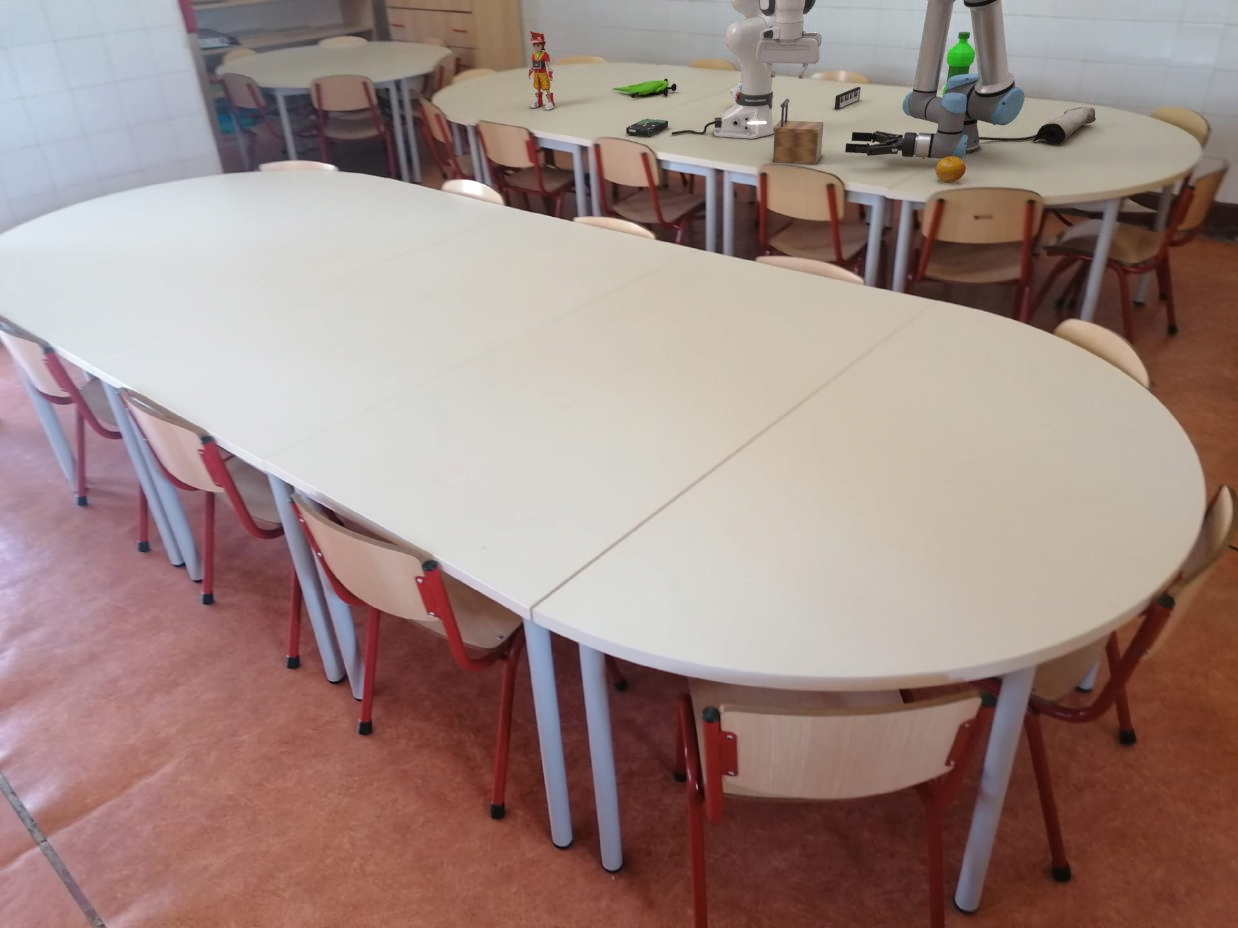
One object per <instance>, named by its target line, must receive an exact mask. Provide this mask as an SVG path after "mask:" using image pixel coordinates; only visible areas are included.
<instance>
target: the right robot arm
mask: <svg viewBox="0 0 1238 928" xmlns="http://www.w3.org/2000/svg"><path fill="white" fill-rule="evenodd" d="M956 1H957V0H927V4H926V5H927V6H926V12H925V18H924V24H923V28H922V35H921V41H920V48H919V53H918V59H917V63H916V71H915V74H914V75H915V76H914V81H913V88H912V91H910V92H908V93H907V94H906V96H905V98H904V100H903V101H902V111H903V113H904V114H905V115H906V116H909V117H911V118H914V119H917V120H922V121H927V122H930V123H934V124H937V129H936V132H935V133H933V132H919V133H917V132H911V131H905V132H904V135H903V134H898V133H897V134H896V133H892V132H891V133H890V132H886V131H880V130H876V131H874V132H864V131H863V132H862V131H852V132H851V142H864V143H851V142H849V143H848V142H846V143H845V150H844V153H849V154H865V155H866V156H867V157H873V156H884V155H898V154H899V151H900V152H901V157H902V158H913V157H915V158H921V160H925V159H927V158H928V159H940V160H941V159H943V158H945V157H949V156H955V157H958V158H960V159H962V160H963V158H965V156H966V153H972V152H976V151H977V150H978V149H979V148H980V141H999V142H1000V141H1003V142H1017V141H1018V142H1020V141H1028V140H1033V139H1034V138H1035V136H1036V134H1034V135H1030V136H1024V137H993V136H992V137H990V136H980V135H979V128H978V121H980V122H983V123H987V124H991V125H992V126H993V125H994V126H996V125H997V126H1007V125H1009V124H1010V123H1012V122H1013V121H1014V120H1016V118H1017V117H1018V116H1019V114H1020V112H1021V111H1022V109H1023V106H1024V103H1025V96H1026V95H1025V91H1024V90H1023V89H1022V88H1021V87H1019V86H1016V84H1015V83H1016V82H1015V81H1016V80H1015V75H1014V74H1013V73H1012V72H1010V71H1009V67H1008V66H1009V65H1008V55H1007V46H1006V36H1005V35H1006V34H1005V26H1004V25H1005V24H1004V23H1005V22H1004V14H1003V4H1002V3H1003V2H1002V0H962V1H963V6H964V7H966V8H967V9H969V10H970V18H971V29H972V34H973V35H972V36H973V44H974V50H975V59H976V67H977V68H976V69H977V73H969V74H963V75H956V76H953V77H951V78H949V79H948V81H947V80H946V84H947V85H946V84H945V85H946V89H945V94H944V95H943V94H942V96H937V95H938V89H939V84H940V77H941V72H942V68H943V61H944V58H945V53H946V47H947V43H948V42H947V41H948V36H949V30H950V25H951V21H952V19H951V18H952V16H953V9H954V5H955V2H956ZM865 142H867V143H865ZM870 143H871V144H870Z"/></svg>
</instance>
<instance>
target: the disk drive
mask: <svg viewBox="0 0 1238 928" xmlns="http://www.w3.org/2000/svg"><path fill="white" fill-rule="evenodd" d="M667 128H669V120H664V119H652V118H644V119H641V120H640V121H637V122H635V123H633V124H631V125H628V126H626V128H625V132H626V133H625V134H626V135H629V136H630V135H631V136H638V137H652V136H653V135H655V134H657V133H659V132H662V131H664V130H666V129H667Z"/></svg>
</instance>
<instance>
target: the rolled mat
mask: <svg viewBox="0 0 1238 928" xmlns="http://www.w3.org/2000/svg"><path fill="white" fill-rule="evenodd" d="M1096 119H1097V118H1096V109H1095V108H1094V107H1087V106H1083V107H1074V108H1069V109H1066V110H1064V112H1063V114H1061V115H1059V116H1057V117H1055V118H1054V119H1052V120H1050V121H1048V122H1046V123H1045V124H1043V125H1042V126H1040V128H1039V129H1038V131H1037V132H1036V134H1035V135H1036V136H1035V138H1033V139H1032V142H1033V143H1035V142H1037V141H1042V140H1043V141H1044V142H1046V143H1047V144H1051V145H1057V146H1059V145H1061V144H1063V143H1064V142H1065V141H1066V140H1067V139H1068V138H1069V137H1070V136H1071V135H1072V134H1073V133H1074V132H1076V131H1077V130H1078V129H1079V128H1081V126H1083V125H1088V124H1093V123H1095V121H1096Z"/></svg>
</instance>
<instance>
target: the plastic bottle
mask: <svg viewBox="0 0 1238 928" xmlns="http://www.w3.org/2000/svg"><path fill="white" fill-rule="evenodd" d="M970 36H971V32H970V31H959V32H958V36H957V39H958V42H957V43H956V44H954V45H953V46H952V47H951V48H950V49H949V50H948V52H947V54H946V63H947V64H948V69H947V70H948V71H947V76H946V77H947V78H946V82H947V81H948V79H949V78H951V77H953V76H956V75H963V74H970V67H971V65H972V64H973V63H974V61H975V59H976V52H975V48H974V47H972V45H971V44H970V43H969V42H968V41H969V39H970V38H971V37H970ZM946 85H947V83H946V84H945V85H944V87H943V90H942V96H943V95H944V94H945V89H946Z"/></svg>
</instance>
